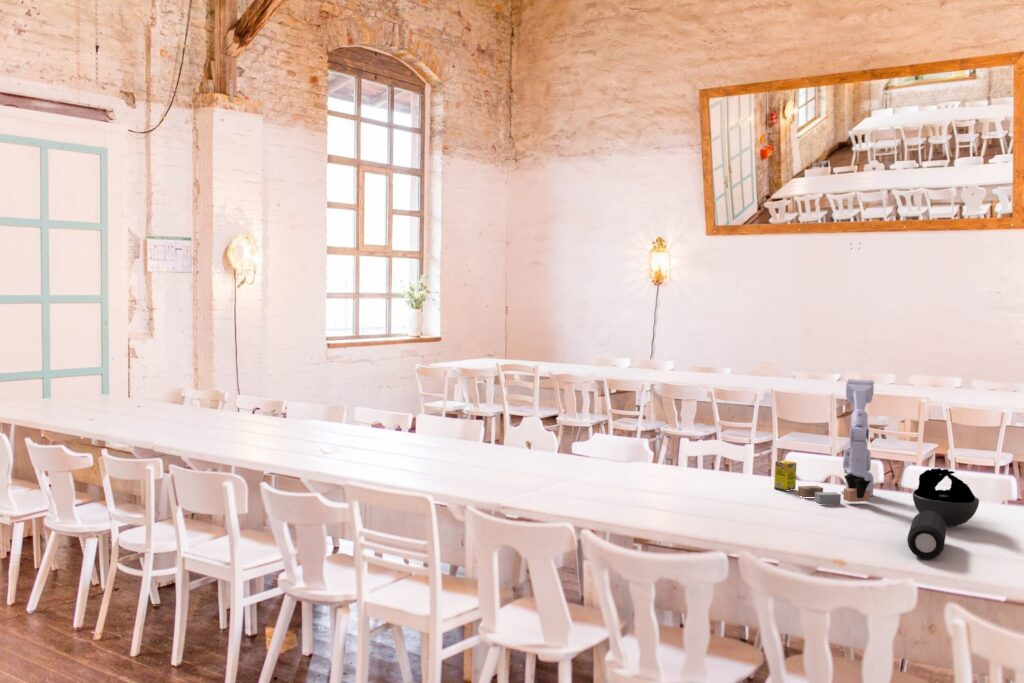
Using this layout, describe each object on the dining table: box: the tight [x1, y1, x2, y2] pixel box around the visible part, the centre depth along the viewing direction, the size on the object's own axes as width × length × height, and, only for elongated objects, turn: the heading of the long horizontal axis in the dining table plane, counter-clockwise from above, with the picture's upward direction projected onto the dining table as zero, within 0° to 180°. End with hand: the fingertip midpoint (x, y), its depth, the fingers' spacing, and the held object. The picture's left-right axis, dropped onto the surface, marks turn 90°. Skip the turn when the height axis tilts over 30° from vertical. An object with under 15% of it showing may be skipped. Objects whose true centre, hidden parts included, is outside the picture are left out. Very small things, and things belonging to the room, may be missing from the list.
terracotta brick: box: [843, 487, 871, 503], centre depth 340 cm, size 8×4×4 cm, turn 103°
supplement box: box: [773, 459, 797, 491], centre depth 362 cm, size 6×6×11 cm
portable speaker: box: [907, 511, 948, 560], centre depth 280 cm, size 26×10×10 cm, turn 153°
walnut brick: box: [797, 485, 824, 497], centre depth 350 cm, size 8×4×4 cm, turn 102°
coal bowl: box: [912, 468, 980, 528], centre depth 309 cm, size 20×20×19 cm
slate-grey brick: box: [814, 491, 842, 506], centre depth 339 cm, size 8×4×4 cm, turn 97°
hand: (856, 496), depth 340 cm, fingers closed on terracotta brick, 4 cm apart
